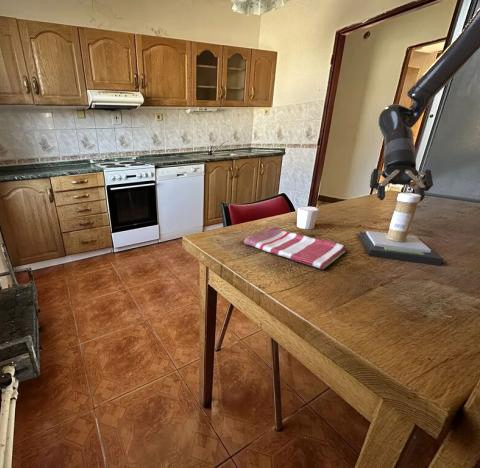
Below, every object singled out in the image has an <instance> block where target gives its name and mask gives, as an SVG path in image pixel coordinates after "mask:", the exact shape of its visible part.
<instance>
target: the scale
mask: <svg viewBox="0 0 480 468" xmlns="http://www.w3.org/2000/svg"><path fill="white" fill-rule="evenodd" d="M387 235H388V232H379V231H373V230H366V232H364V231H360V232H359V235H358V239H359V242H361V244H362V246H363V248H364V250H365V251H366V253H367V255H368V257H373V258H374V257H375V258H381V259H388V260H396V261H402V262H410V263H417V264H425V265H432V266H440V267H441V265H442V263H443V260H444V258H443V257H442V256H441V255H440V254H438V253H437V252H436V251H435V250H434V249H433V248H432V247H431V246H430V245H429V244H427V243H426V242H425V241H424V240H423V239H422V238H420V237H418V236H417V235H412V234H411V235H410V234H408V235H407V240H406V241H405V242H396V241H392V240H389V239H387V238H386V236H387Z"/></svg>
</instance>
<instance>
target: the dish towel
mask: <svg viewBox="0 0 480 468" xmlns="http://www.w3.org/2000/svg"><path fill="white" fill-rule="evenodd" d="M243 244H244V245H246V246H250V247H252V248H256V249H259V250H261V251H264V252H267V253H270V254H273V255H276V256H280V257H284V258H287V259H289V260H292V261H295V262H297V263H301V264H304V265H307V266H310V267H314V268H317V269H320V270H324V269H325V268H327V267H329V266H330V265H331V264H332V263H334V262H335V261H336V260H338V259H339V258H340V257H341V256H342V255H343V254H345V253H346V246H345V245H344V244H341V243H337V242H334V241H331V240H326V239H321V238H313V237H310V236H307V235H304V234H300V233H294V232H289V231H285V230H282V229H279V228H278V227H276V226H274V225H273V226H271V227H269V228H267V229H266V230H263V231H261V232H258V233H254V234H251V235H249V236H247V237H246V238H245V239H244V240H243Z"/></svg>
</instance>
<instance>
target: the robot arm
mask: <svg viewBox="0 0 480 468" xmlns="http://www.w3.org/2000/svg"><path fill="white" fill-rule="evenodd" d="M479 49H480V7H479V8H478V9H477V10H476V12H475V14H474V15H473V16H472V18H471V19H470V21H469V22H467V24H466V25H465V27H464V28H463V30H462V31H461V32H460V33H459V34H458V35H457V37H456V38H455V39H454V40H453V41H452V42H451V44H449V46H448V47H447V48H446V49H444V51H443V52H442V53H441V54H440V55H439V56H438V57H437V58H436V59H435V60H434V62H433V63H431V65H429V67H428V68H427V69H426V70H425V71H424V72H423V73H422V74H421V76H419V78H418V79H417V80H416V81H415V82H414V83H413V85H412V86H410V88H409V89H408V90H407V92H406V96H407V97H408V98H409V99H410V100H411V101H412V102H411V104H410V105H409V107H406V106H404V105H401V104H399V103H393V104H390V105H387V106H386V107H385V108H383V110H381V112H380V114H379V116H378V127H379V130H380V132H381V135H382V136H383V139H384V150H383V155H382V159H383V170H379V169H378V168H374V169H373V170H372V172H371V173H370V181H369V188H370V189H375V190H376V198H377V199H379V201H383V200H384V199H385V198H386V187H387V186H388V185H390V184H391V186H394V185H395V186H396V185H401V186H405V185H406V186H407V187H408V188H409V189H413V191H415V192H414V194H418V195H420V196H421V197H420V201H419V202H418V204H419V203H421V202H422V201H423V200H424V199H425V197H426V196H425V192H428V191H430V190H431V189H432V187H434V180H433V176H432V171H431V170H430V169H426V170H424V171H418V170H417V157H416V145H415V142H414V141H415V140H414V132H413V129H412V128H413V127H415V125H416V124H417V123H418V122H419V120H420V119H421V117H422V115H423V113H424V112H425V111H426V109H427V107H429V104H430V103H431V101H432V100H433V99H434V98H435V97H436V96H437V95H438V94H439V93H440V92H441V91H442V90H443V89H444V87H445V86H447V85H448V84H449V83H450V82H451V80H453V78H454V77H455V76H456V75H457V74H458V73H459V71H460V70H462V68H463V67H464V66H465V65H466V63H468V61H469V60H470V59H471V58H472V57H473V55H475V53H477V52H478V50H479ZM380 176H381V177H383V178H384V179H383V180H382V181H381V182H378V181H379V179H378V178H379V177H380Z"/></svg>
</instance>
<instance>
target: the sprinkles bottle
mask: <svg viewBox="0 0 480 468" xmlns="http://www.w3.org/2000/svg"><path fill="white" fill-rule="evenodd" d="M420 197H421V196H420V195H418V194H415V193H413V192H400V193H398V195H397V198H396V205H395V208H394V210H393V213H392V218H391V221H390V224H389V228H388V231H387V233H388V235H387V236H386V238H387V239H389V240H392V241H396V242H405V241H406V240H407V235H409V232H410V230H411V227H412V223H413V219H414V216H415V213H416V210H417V206H418V204H419V203H420V202H421V201H420ZM419 201H420V202H419ZM418 202H419V203H418Z"/></svg>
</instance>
